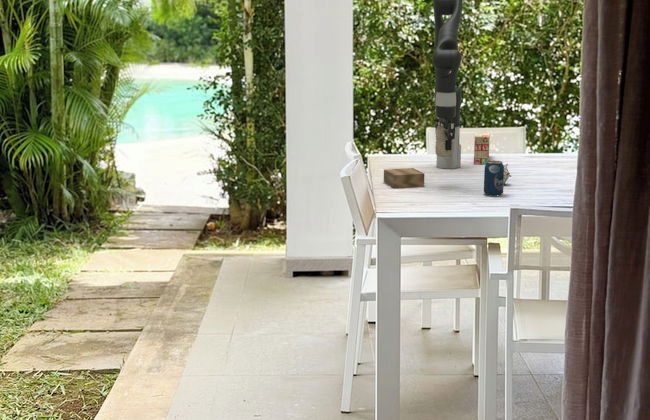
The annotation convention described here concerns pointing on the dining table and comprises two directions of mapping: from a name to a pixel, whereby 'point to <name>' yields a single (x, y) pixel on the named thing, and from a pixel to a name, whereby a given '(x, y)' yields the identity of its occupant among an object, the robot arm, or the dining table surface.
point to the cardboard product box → (481, 148)
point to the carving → (442, 143)
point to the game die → (506, 174)
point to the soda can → (493, 178)
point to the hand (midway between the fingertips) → (444, 148)
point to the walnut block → (403, 178)
